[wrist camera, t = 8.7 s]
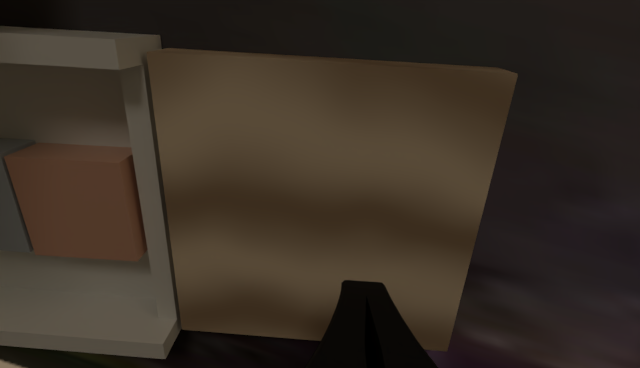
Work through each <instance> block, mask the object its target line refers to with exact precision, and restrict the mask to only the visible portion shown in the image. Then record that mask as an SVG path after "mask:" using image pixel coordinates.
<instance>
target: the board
mask: <svg viewBox="0 0 640 368" xmlns="http://www.w3.org/2000/svg"><path fill="white" fill-rule="evenodd" d="M146 53H147V61H148V69H149V77H150V84H151V92H152V100H153V108H154V116H155V123H156V131H157V139H158V147H159V155H160V162H161V170H162V178H163V186H164V194H165V201H166V209H167V217H168V225H169V233H170V240H171V248H172V256H173V264H174V272H175V279H176V287H177V295H178V303H179V311H180V319H181V326H182V330H194V331H206V332H218V333H230V334H242V335H255V336H267V337H279V338H291V339H303V340H316V341H321V340H322V338H323V336H324V334H325V332H326V330H327V328H328V326H329V324H330V321H331V319H332V316H333V314H334V311H335V309H336V306H337V303H338V300H339V296H340V292H341V283H342V282H343V281H344V280H354V281H369V282H382V283H383V284H384V285H385V287H386V289H387V291H388V293H389V295H390V297H391V299H392V301H393V302H394V304H395V306H396V308H397V309H398V311H399V313H400V315H401V316H402V318H403V319H404V321H405V323H406V324H407V326H408V327H409V329H410V330H411V332H412V333H413V335H414V336H415V338H416V339H417V341H418V342H419V343H420V345H421V346H422V347H423V349H425V350H437V351H447V349H448V345H449V342H450V338H451V334H452V330H453V326H454V322H455V318H456V314H457V310H458V306H459V303H460V299H461V295H462V291H463V287H464V283H465V279H466V275H467V271H468V267H469V263H470V260H471V256H472V252H473V248H474V244H475V240H476V236H477V232H478V228H479V224H480V220H481V217H482V213H483V209H484V205H485V201H486V197H487V193H488V189H489V185H490V181H491V178H492V174H493V170H494V166H495V162H496V158H497V154H498V150H499V146H500V142H501V138H502V135H503V131H504V127H505V123H506V119H507V115H508V111H509V107H510V103H511V99H512V96H513V92H514V88H515V84H516V80H517V76H518V74H516V73H513V72H510V71H507V70H503V69H500V68H495V67H478V66H461V65H445V64H428V63H411V62H394V61H377V60H361V59H344V58H327V57H310V56H293V55H276V54H260V53H243V52H226V51H209V50H192V49H175V48H166V49H160V50H154V51H148V52H146Z"/></svg>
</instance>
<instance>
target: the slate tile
mask: <svg viewBox="0 0 640 368" xmlns="http://www.w3.org/2000/svg"><path fill="white" fill-rule="evenodd" d="M34 144H36V143H35V140H27V139H12V138H0V250H2V251H15V252H28V253H30V252H32V251H33V250H34V249H33V246H32V243H31V239H30V236H29V233H28V230H27V227H26V224H25V221H24V218H23V215H22V212H21V208H20V205H19V202H18V199H17V196H16V193H15V190H14V187H13V184H12V180H11V177H10V174H9V171H8V168H7V165H6V162H5V159H4V156H7V155H9V154H12V153H14V152H17V151H19V150H21V149H24V148H26V147H29V146H31V145H34Z"/></svg>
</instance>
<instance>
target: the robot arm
mask: <svg viewBox="0 0 640 368" xmlns="http://www.w3.org/2000/svg"><path fill="white" fill-rule="evenodd" d="M305 368H438V367H437V366H436V364H435V363H434V362H433V361H432V359H431V358H430V357H429V356H428V354H427V353H426V352H425V350H424V349H423V347H422V346H421V345H420V343H419V342H418V341H417V339H416V338H415V336H414V335H413V333H412V332H411V330H410V329H409V327H408V326H407V324H406V323H405V321H404V319H403V318H402V316H401V315H400V313H399V311H398V309H397V308H396V306H395V304H394V302H393V301H392V299H391V297H390V295H389V293H388V291H387V289H386V287H385V285H384V284H383V283H382V282H369V281H354V280H344V281H343V282H342V283H341V292H340V296H339V300H338V303H337V306H336V309H335V311H334V314H333V316H332V319H331V321H330V324H329V326H328V328H327V330H326V332H325V334H324V336H323V338H322V340H321V342H320V344H319V345H318V347H317V349H316V351H315V352H314V354H313V356H312V357H311V359H310V361H309V362H308V364H307V365H306V367H305Z"/></svg>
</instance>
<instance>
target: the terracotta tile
mask: <svg viewBox="0 0 640 368" xmlns="http://www.w3.org/2000/svg"><path fill="white" fill-rule="evenodd" d="M4 159H5V162H6V165H7V168H8V171H9V174H10V177H11V180H12V184H13V187H14V190H15V193H16V196H17V199H18V202H19V205H20V208H21V212H22V215H23V218H24V221H25V224H26V227H27V230H28V233H29V236H30V239H31V243H32V246H33V249H34V252H35V255H44V256H59V257H75V258H91V259H107V260H122V261H138V260H139V259H140V258H141V257H142V256H143V255H144V253H145V252H146V251H147V250H148V249H147V243H146V236H145V230H144V224H143V218H142V211H141V205H140V199H139V192H138V186H137V180H136V173H135V167H134V161H133V155H132V148H131V147H114V146H95V145H76V144H57V143H36V144H34V145H31V146H29V147H26V148H24V149H21V150H19V151H17V152H14V153H12V154H9V155H7V156H4Z"/></svg>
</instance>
